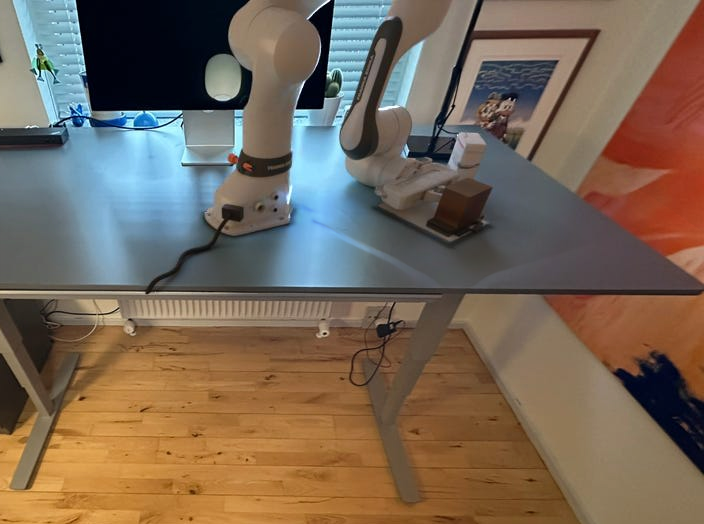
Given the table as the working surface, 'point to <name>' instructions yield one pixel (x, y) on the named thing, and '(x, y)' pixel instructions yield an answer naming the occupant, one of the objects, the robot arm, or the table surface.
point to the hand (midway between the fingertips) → (449, 199)
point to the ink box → (467, 154)
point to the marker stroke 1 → (463, 231)
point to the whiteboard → (422, 216)
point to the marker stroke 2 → (477, 227)
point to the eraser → (460, 206)
